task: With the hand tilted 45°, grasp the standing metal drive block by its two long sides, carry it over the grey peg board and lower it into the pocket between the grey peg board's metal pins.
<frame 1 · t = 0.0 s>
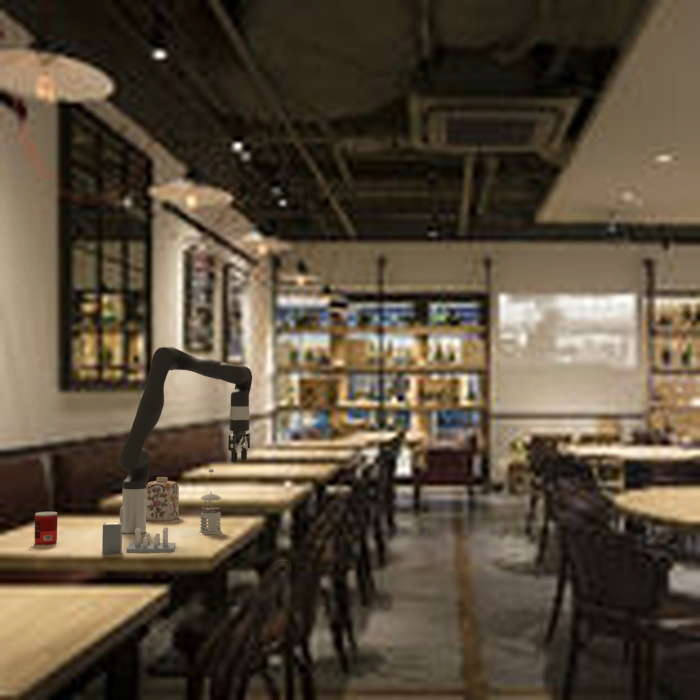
hand: (239, 461, 362), 29 cm above the table, tool pointing down, fingers open, 8 cm apart
canned food: (45, 543, 348), on the table
drive: (112, 552, 330), on the table
french press: (209, 533, 376), on the table
decorative jar: (161, 519, 412), on the table
grey peg board: (151, 549, 338), on the table
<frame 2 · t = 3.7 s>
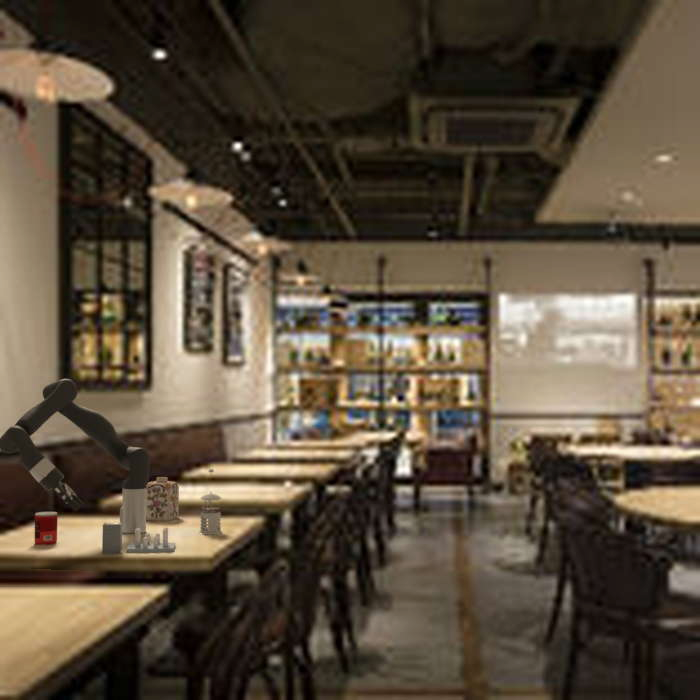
hand: (79, 507, 329), 16 cm above the table, tool tilted 45°, fingers open, 8 cm apart
nothing on the table moved.
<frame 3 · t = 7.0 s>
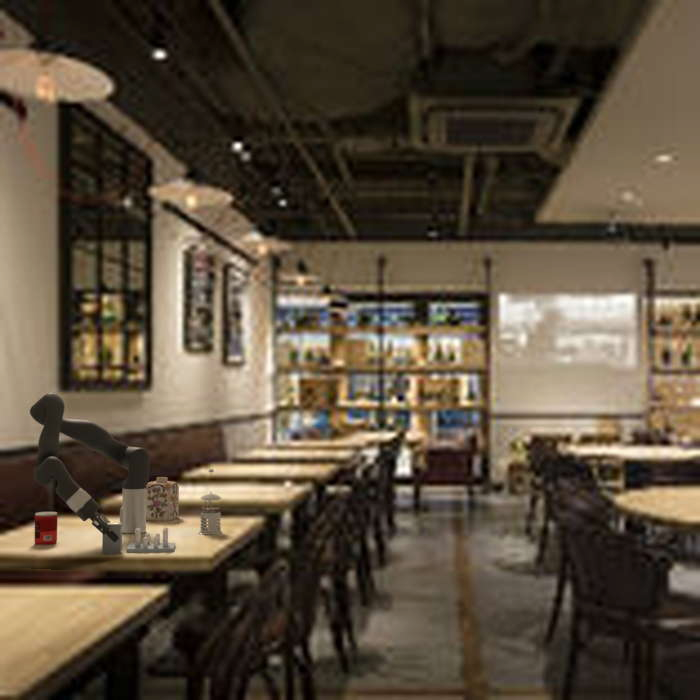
hand: (117, 538, 331), 5 cm above the table, tool tilted 45°, fingers closed on drive, 5 cm apart
drive: (112, 552, 330), on the table, touching gripper
everything else where it was.
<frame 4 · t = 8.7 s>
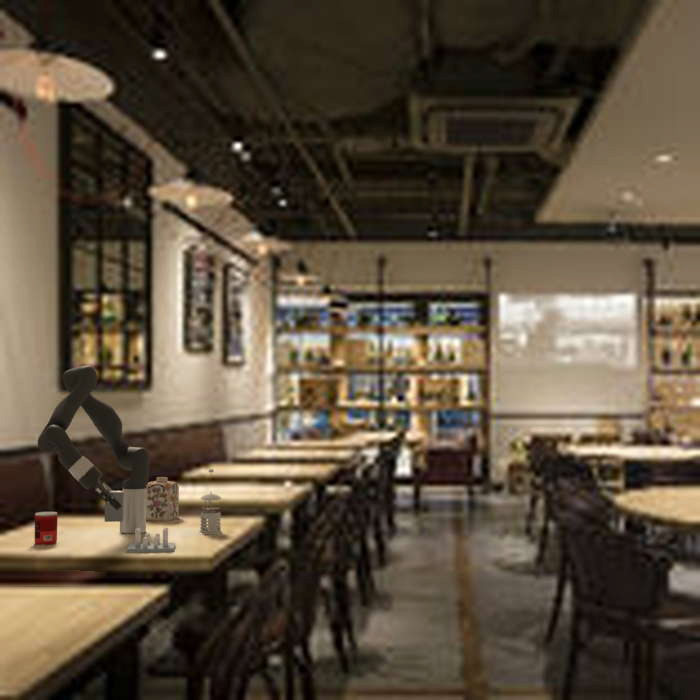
hand: (120, 506, 332), 16 cm above the table, tool tilted 45°, fingers closed on drive, 5 cm apart
drive: (114, 520, 331), point 11 cm above the table, touching gripper
everything else where it was.
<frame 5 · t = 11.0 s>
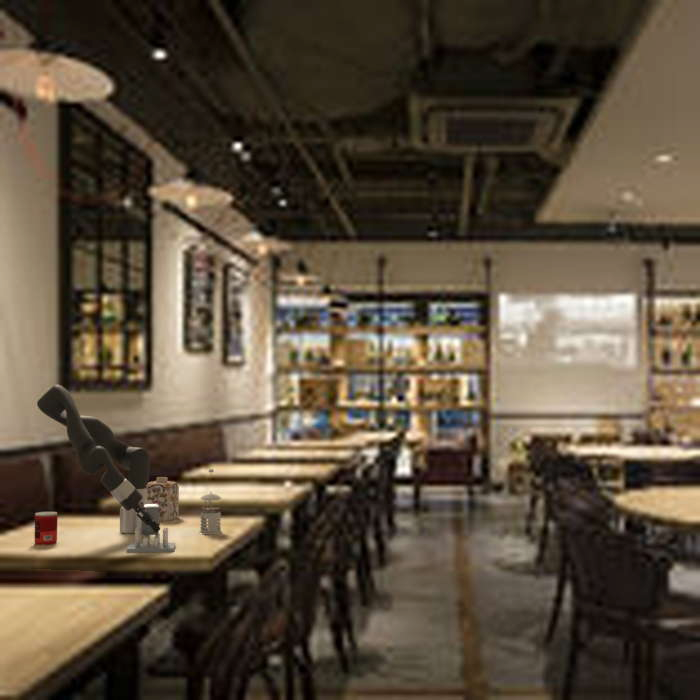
hand: (158, 528, 343), 7 cm above the table, tool tilted 40°, fingers closed on drive, 5 cm apart
drive: (149, 533, 342), point 5 cm above the table, tilted 5°, touching gripper
everything else where it was.
when the fingers open (7 cm above the table, at t = 11.8 s): drive drops 4 cm, resting on grey peg board.
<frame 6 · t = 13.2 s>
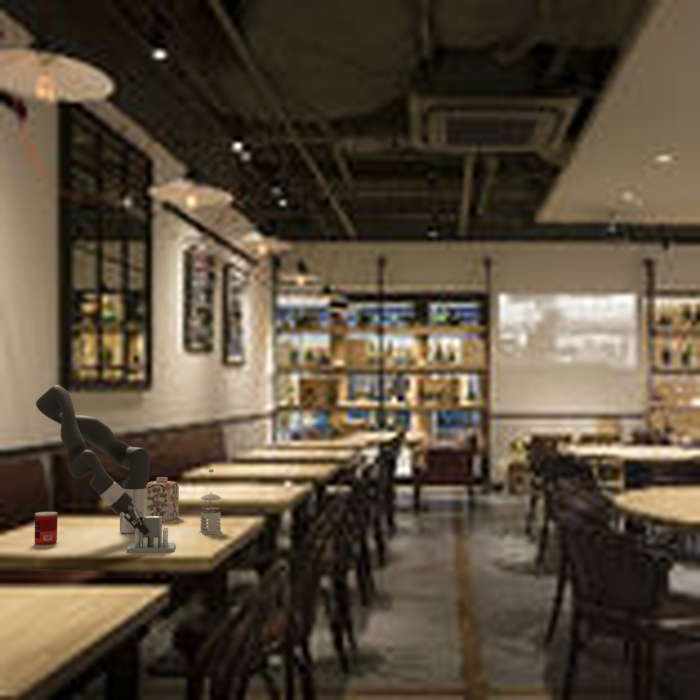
hand: (147, 530, 340), 6 cm above the table, tool tilted 45°, fingers open, 8 cm apart
drive: (152, 545, 338), point 1 cm above the table, touching gripper, grey peg board
everything else where it was.
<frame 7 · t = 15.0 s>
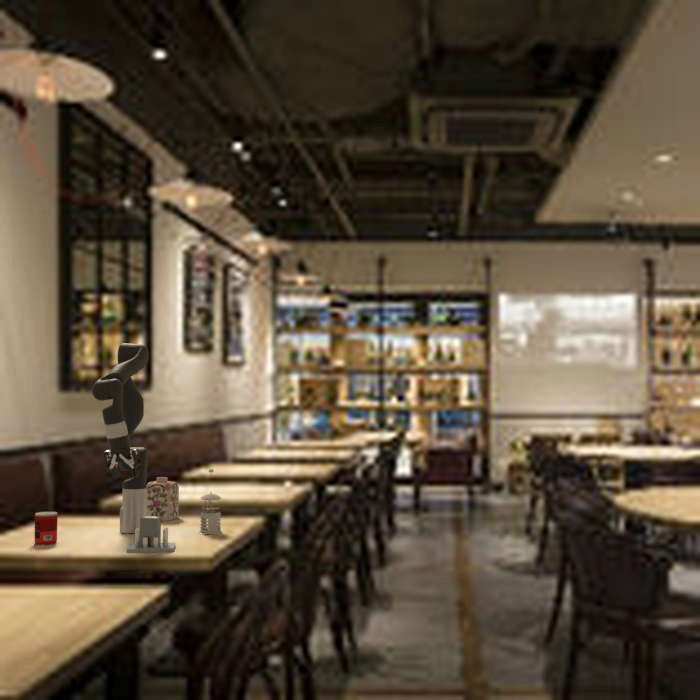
hand: (126, 477, 342), 25 cm above the table, tool pointing down, fingers open, 8 cm apart
drive: (150, 545, 338), point 1 cm above the table, touching grey peg board
everything else where it was.
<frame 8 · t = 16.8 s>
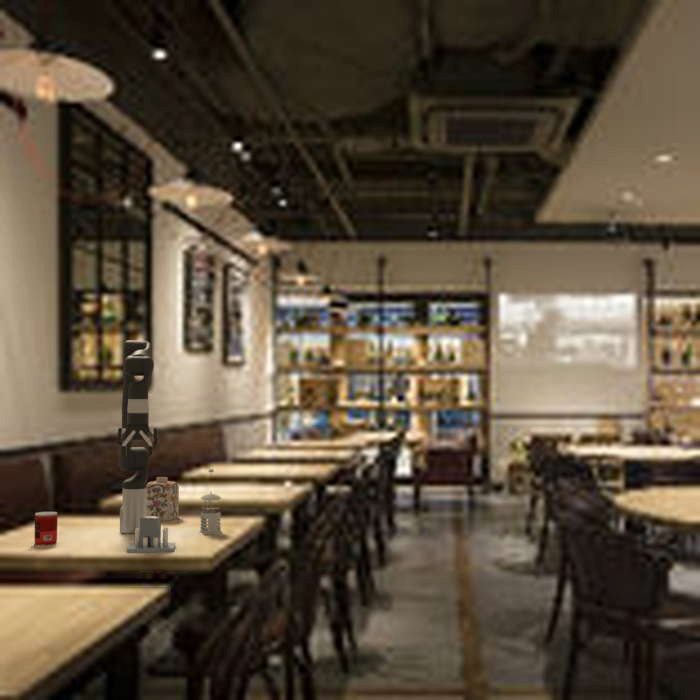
hand: (137, 456, 344), 32 cm above the table, tool pointing down, fingers open, 8 cm apart
nothing on the table moved.
at the end: drive 0.4 cm off-centre on the grey peg board, point 1.2 cm above the grey peg board's base; drive tilted 0°; the gripper is holding nothing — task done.
